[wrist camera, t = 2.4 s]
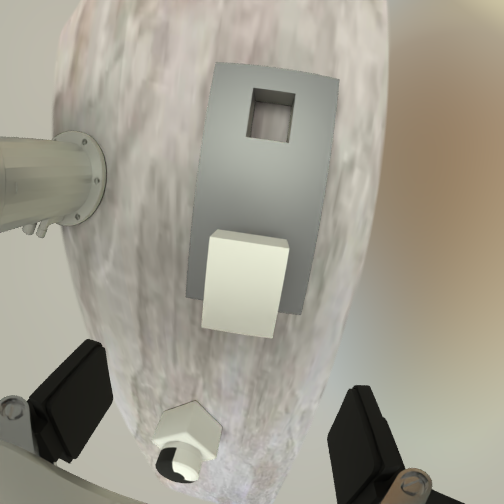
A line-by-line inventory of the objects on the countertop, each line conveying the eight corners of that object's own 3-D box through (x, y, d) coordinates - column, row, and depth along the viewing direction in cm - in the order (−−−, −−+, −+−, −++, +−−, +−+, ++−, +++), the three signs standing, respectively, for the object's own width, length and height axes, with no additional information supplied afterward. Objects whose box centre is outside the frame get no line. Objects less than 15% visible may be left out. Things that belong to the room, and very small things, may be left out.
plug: (271, 297, 29) (272, 338, 21) (218, 289, 29) (201, 327, 21) (283, 228, 27) (289, 248, 19) (226, 220, 27) (209, 236, 20)
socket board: (296, 296, 34) (300, 315, 29) (196, 281, 34) (185, 297, 29) (329, 93, 28) (339, 79, 23) (223, 78, 28) (215, 62, 24)
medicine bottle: (190, 436, 42) (174, 489, 30) (162, 410, 40) (139, 464, 29) (223, 426, 40) (212, 484, 29) (195, 399, 39) (177, 458, 28)
